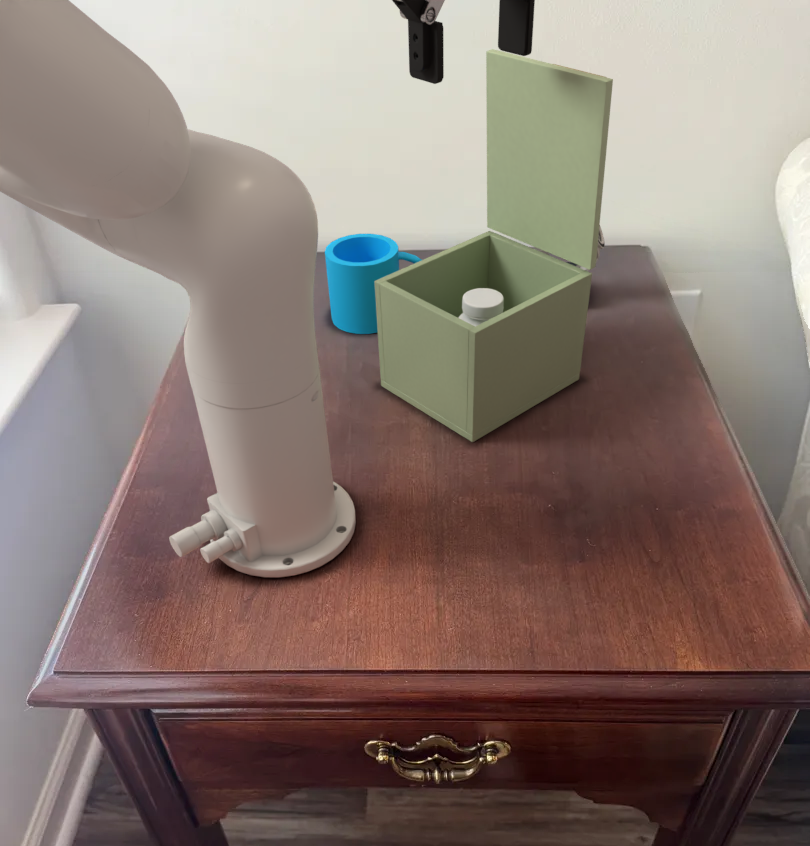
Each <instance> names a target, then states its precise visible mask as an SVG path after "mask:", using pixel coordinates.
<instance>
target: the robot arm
mask: <svg viewBox="0 0 810 846" xmlns="http://www.w3.org/2000/svg"><path fill="white" fill-rule="evenodd" d="M391 1H392V2H393V3H394V5H395V6H396V7H397V9H399V15H400V17H401V18H402V19H404V20H407V35H408V69H409V75H410V77H411V78H413V79H417V80H420V81H423V82H427V83H430V84H433V85H436V84H439V83H442V82H443V80H444V76H445V75H444V73H445V72H444V71H445V70H444V67H445V66H444V25H443V22H441V21H438V20H437V18H438V16H439V14H440V11H441V10H442V7H443V5H444V3H445V1H446V0H391ZM535 1H536V0H499V5H498V32H497V33H498V34H497V48H498V49H499V51H502V52H506V53H510V54H514V55H518V56H522V57H526V56H529V55H531V54H532V52H533V37H534V36H533V35H534V20H535ZM187 125H188V124H187V123H186V120H185V117H184V114H183V111H182V110H181V107H180V105H179V104H178V101H177V100H176V99H175V96H174V95H173V93H172V92H171V90H170V89H169V87H168V86H167V84H166V83H165V82H164V81H163V80H162V79H161V78H160V76H159V75H158V74H157V73H156V72H155V71H154V70H153V68H152V67H151V66H150V65H149V64H148V63H146V61H144V60H143V59H141V58H140V56H138V55H137V54H136V53H135V52H133V51H132V50H131V49H130V48H128V47H127V46H126V44H123V43H122V42H121V41H120V40H118V39H117V38H116V37H114V36H113V35H112V34H110V33H109V32H108V31H106V30H105V29H104V28H103V27H101V26H100V25H99V24H98V23H97V22H96V21H94V20H93V19H92V18H91V17H89V15H87V14H86V13H85V12H84V11H83V10H81V9H80V8H79V7H78V6H76V5H75V4H74V3H73V2H71V1H70V0H0V193H2V194H4V195H6V196H7V197H10V198H11V199H13V200H15V201H17V202H18V203H19V204H22V205H23V206H26V207H27V208H29V209H30V210H33V211H34V212H37V213H38V214H40V215H41V216H44V217H45V218H47V219H48V220H51V221H52V222H55V224H57V225H59V226H61V227H64V228H65V229H67V230H69V231H71V232H72V233H74V234H76V235H78V236H80V237H81V238H83V239H85V240H86V241H89V242H91V243H93V244H94V245H96V246H98V247H100V248H102V249H104V250H106V251H107V252H109V253H111V254H114V255H115V256H117V257H120V258H122V259H124V260H127V261H128V262H131V263H133V264H135V265H138V266H140V267H142V268H145V269H147V270H149V271H152V272H153V273H156V274H159V275H161V276H163V277H164V278H166V279H168V280H169V281H172V282H174V283H176V284H178V285H180V286H181V287H182V288H183V289H184V290H185V291H186V293H187V296H188V299H189V305H190V306H189V307H190V308H189V316H188V319H187V323H186V325H185V331H184V335H183V354H184V355H183V356H184V363H185V367H186V372H187V376H188V380H189V383H190V387H191V391H192V394H193V399H194V403H195V406H196V412H197V415H198V420H199V423H200V427H201V431H202V435H203V440H204V443H205V447H206V451H207V456H208V459H209V460H208V461H209V464H210V469H211V472H212V476H213V480H214V484H215V489H216V493H214V494H212V495H210V496H207V498H206V501H207V505H208V509H209V511H207V512H205V513H203V514H202V515H201V516H200V521H198V522H197V523H195V524H193V525H191V526H187V527H185V528H183V529H181V530H179V531H177V532H175V533H174V534H172V535H170V536H169V537H168V538H169V539H168V540H169V543H170V546H171V548H172V549H173V551H174V552H175V554H176V555H177V556H178V557H179V558H183V557H185V556H187V555H188V554H190V553H192V552H194V551H195V550H198V549H199V551H200V554H201V556H202V558H203V560H204V561H205V562H206V563H207V564H210V563H213V562H214V561H215V560H217V559H219V560H221V562H223V563H224V564H225V565H226V566H227V567H229V568H231V569H233V570H235V571H237V572H240V573H242V574H247V575H249V576H255V577H261V578H285V577H291V576H297V575H301V574H304V573H308V572H310V571H313V570H315V569H318V568H320V567H322V566H324V565H326V564H327V563H329V562H330V561H332V560H333V559H335V558H336V557H337V556H338V555H339V554H340V553H341V552H343V550H344V549H345V548H346V546H348V544H349V543H350V541H351V539H352V537H353V536H354V533H355V529H356V524H357V520H356V519H357V518H356V509H355V505H354V502H353V500H352V498H351V496H350V494H349V493H348V491H346V490H345V489H344V488H343V487H342V486H341V485H340V484H338V483H337V482H335V481H334V478H333V476H334V475H333V469H332V459H331V451H330V443H329V436H328V426H327V419H326V418H327V417H326V410H325V401H324V394H323V385H322V377H321V367H320V363H319V354H318V353H319V352H318V346H317V345H318V344H317V335H316V323H315V322H316V321H315V277H316V267H317V257H318V256H317V255H318V245H319V244H318V243H319V221H318V214H317V209H316V205H315V202H314V200H313V197H312V195H311V193H310V191H309V189H308V188H307V186H306V185H305V183H304V182H303V181H302V180H301V178H300V177H299V176H298V174H296V173H295V172H294V171H293V170H292V169H291V168H290V167H289V166H287V165H286V164H285V163H284V162H282V161H281V160H279V159H277V158H276V157H273V156H272V155H270V154H268V153H266V152H265V151H262V150H259V149H257V148H255V147H252V146H249V145H246V144H243V143H240V142H237V141H233V140H230V139H227V138H223V137H219V136H216V135H213V134H208V133H204V132H201V131H196V130H192V129H189V128H188V126H187ZM207 542H209V543H208V544H206V545H205V546H203V547H201V546H202V545H204V544H205V543H207ZM200 547H201V548H200Z"/></svg>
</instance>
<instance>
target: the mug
mask: <svg viewBox="0 0 810 846" xmlns="http://www.w3.org/2000/svg"><path fill="white" fill-rule="evenodd" d="M324 249H325V250H324V258H325V259H324V260H325V268H326V278H327V288H328V294H329V295H328V297H329V307H330V317H331V321H332V323H333V325H334V326H335V327H336V328H337V329H338V330H341V331H343V332H345V333H350V334H355V335H370V334H378V329H377V313H376V297H375V281H376V280H378V279H380V278H383V277H385V276H387V275H389V274H392V273H394V272H396V271H399V270H400V261H405V262H409V263H411V264H415V263H417V262H419V261H421V260H423V259H422V258H420V257H419V256H417V255H415V254H412V253H410V252H406V251H399V250H400V249H399V246H398V243H397V242H396V241H395V240H393V239H392V238H390V237H389V236H385V235H382V234H378V233H377V234H376V233H354V234H348V235H345V236H341V237H338V238H337V239H334V240H332V241H331V242H330V243H329V244H328V245H326V247H325V248H324Z"/></svg>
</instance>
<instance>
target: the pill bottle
mask: <svg viewBox="0 0 810 846" xmlns="http://www.w3.org/2000/svg"><path fill="white" fill-rule="evenodd" d="M503 305H504V298H503V295H502V294H501V293H500V292H498V291H496V290H493V289H488V288H477V289H473V290H470V291H468V292H466V293H465V294H464V295H463V299H462V310H463V313H462V314H461V315H460V316H459V317H458V318H459V319H461V320H463V321H465V322H467V323H469V324H471V325H473V326H475V327H476V326H478V325H480V324H482V323H484V322H486V321H488V320H490V319H491V318H493V317H495V316H497V315H499V314H501V313H503V309H504V306H503Z"/></svg>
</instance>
